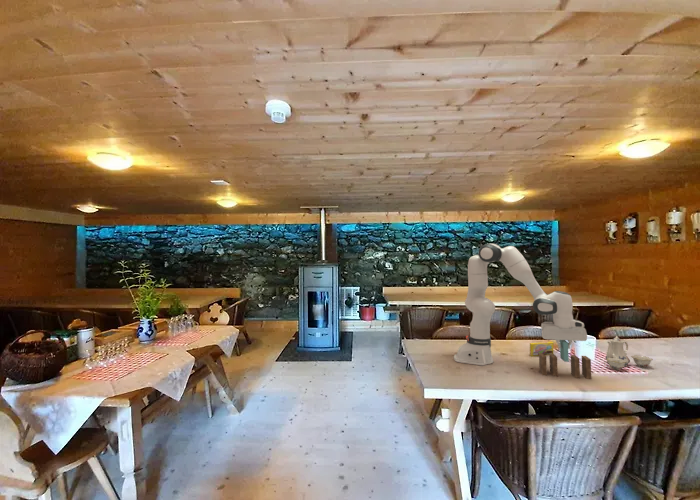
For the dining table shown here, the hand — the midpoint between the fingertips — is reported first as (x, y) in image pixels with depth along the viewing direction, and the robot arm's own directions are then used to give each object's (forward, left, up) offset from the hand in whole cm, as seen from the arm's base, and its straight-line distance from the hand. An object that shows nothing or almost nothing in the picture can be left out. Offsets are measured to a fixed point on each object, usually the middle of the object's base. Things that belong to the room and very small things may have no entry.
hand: (564, 348), depth 169 cm
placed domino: (0, 0, -6) cm, 6 cm away
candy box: (-2, +34, -15) cm, 37 cm away
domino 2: (-5, 0, -14) cm, 15 cm away
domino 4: (+10, 0, -14) cm, 17 cm away
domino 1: (-10, 0, -14) cm, 17 cm away
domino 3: (+5, 0, -14) cm, 15 cm away
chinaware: (+36, +24, -15) cm, 45 cm away
